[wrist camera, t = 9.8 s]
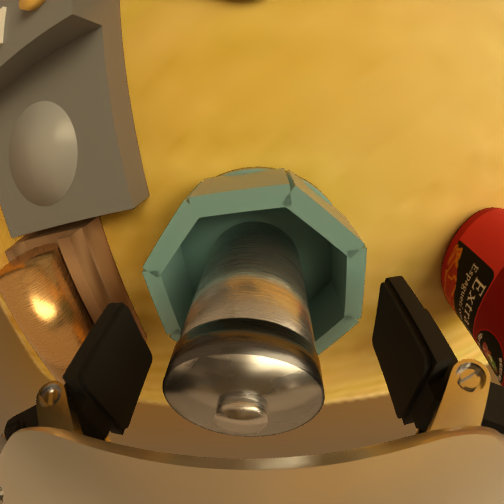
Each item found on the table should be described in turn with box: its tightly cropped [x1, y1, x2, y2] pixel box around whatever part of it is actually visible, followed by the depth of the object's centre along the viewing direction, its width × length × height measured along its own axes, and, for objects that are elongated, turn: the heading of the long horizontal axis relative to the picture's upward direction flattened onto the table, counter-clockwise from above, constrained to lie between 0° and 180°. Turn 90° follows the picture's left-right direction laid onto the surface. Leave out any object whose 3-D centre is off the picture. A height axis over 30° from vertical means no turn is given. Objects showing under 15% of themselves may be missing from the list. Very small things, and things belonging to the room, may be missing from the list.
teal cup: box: [142, 167, 367, 355], centre depth 13 cm, size 9×9×4 cm
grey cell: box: [162, 221, 325, 437], centre depth 10 cm, size 4×4×9 cm
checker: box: [0, 0, 149, 238], centre depth 9 cm, size 14×10×5 cm
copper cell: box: [0, 243, 94, 385], centre depth 13 cm, size 9×4×4 cm, turn 8°
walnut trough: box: [5, 216, 147, 340], centre depth 15 cm, size 9×7×3 cm
